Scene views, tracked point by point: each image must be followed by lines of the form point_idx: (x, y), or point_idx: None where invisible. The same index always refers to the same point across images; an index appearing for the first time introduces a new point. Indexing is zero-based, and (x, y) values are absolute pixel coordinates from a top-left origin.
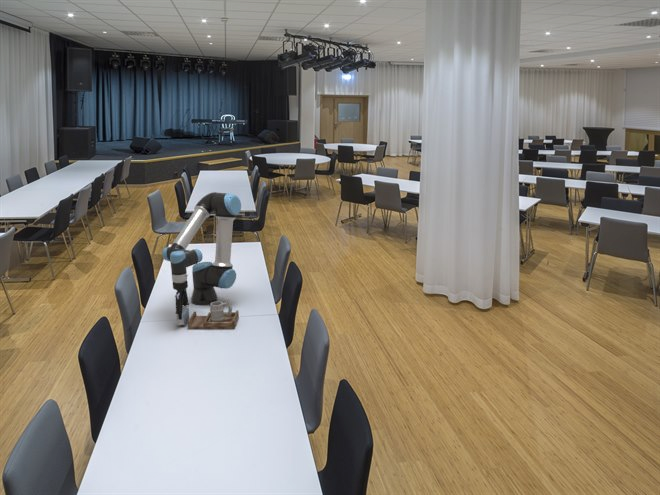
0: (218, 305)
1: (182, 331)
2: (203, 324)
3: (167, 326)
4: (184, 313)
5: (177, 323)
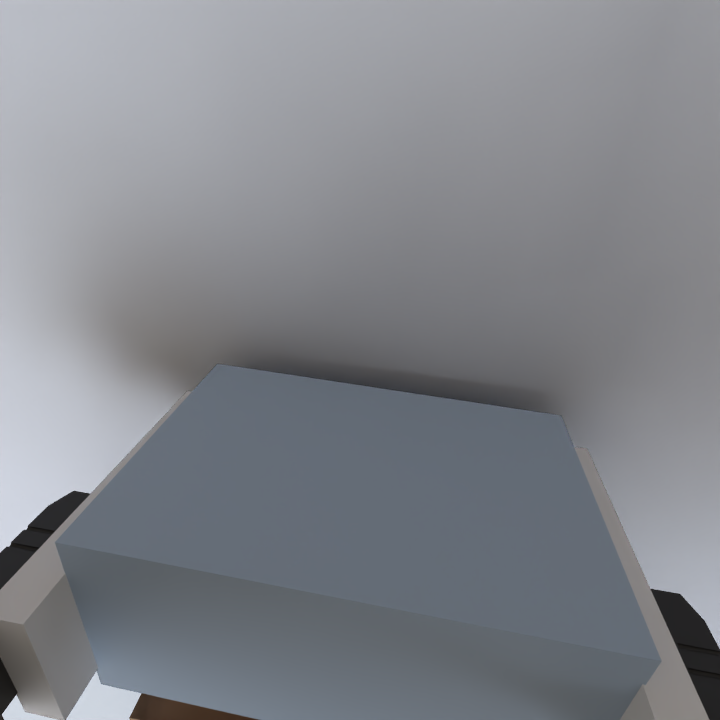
0: None
1: (65, 431)
2: (143, 694)
3: (238, 139)
4: (157, 691)
5: (204, 381)
